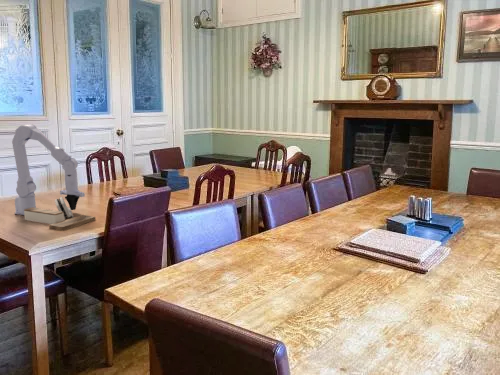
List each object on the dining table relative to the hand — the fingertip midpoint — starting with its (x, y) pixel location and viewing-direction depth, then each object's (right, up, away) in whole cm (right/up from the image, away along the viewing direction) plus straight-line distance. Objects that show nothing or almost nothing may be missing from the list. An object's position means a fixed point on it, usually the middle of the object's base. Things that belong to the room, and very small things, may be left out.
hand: (73, 209), depth 234 cm
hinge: (-3, -3, -5) cm, 6 cm away
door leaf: (+8, -6, -21) cm, 23 cm away
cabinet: (-8, -5, -16) cm, 18 cm away
